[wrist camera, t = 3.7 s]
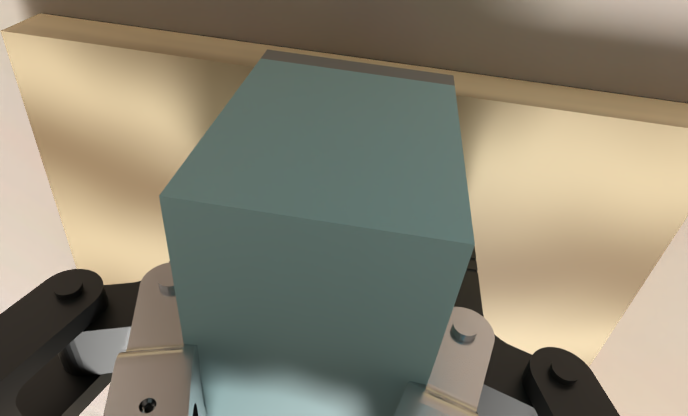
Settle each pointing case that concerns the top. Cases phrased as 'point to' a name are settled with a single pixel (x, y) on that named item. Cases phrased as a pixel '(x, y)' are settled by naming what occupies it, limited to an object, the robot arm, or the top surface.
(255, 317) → the block
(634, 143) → the board
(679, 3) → the top surface
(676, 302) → the top surface
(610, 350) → the top surface
